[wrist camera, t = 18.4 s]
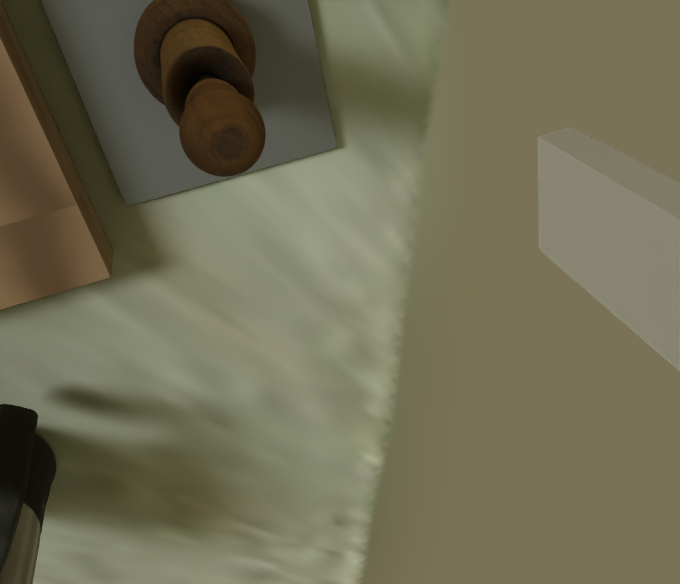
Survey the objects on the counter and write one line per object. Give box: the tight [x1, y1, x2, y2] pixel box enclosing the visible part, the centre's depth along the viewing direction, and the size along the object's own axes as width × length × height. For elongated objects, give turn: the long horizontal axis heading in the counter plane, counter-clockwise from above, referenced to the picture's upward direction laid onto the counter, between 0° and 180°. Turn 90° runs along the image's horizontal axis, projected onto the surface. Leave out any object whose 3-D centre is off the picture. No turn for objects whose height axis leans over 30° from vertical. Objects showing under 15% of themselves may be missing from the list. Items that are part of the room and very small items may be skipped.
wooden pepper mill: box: [134, 0, 266, 177], centre depth 29 cm, size 7×6×18 cm
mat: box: [41, 0, 337, 207], centre depth 37 cm, size 14×16×1 cm
